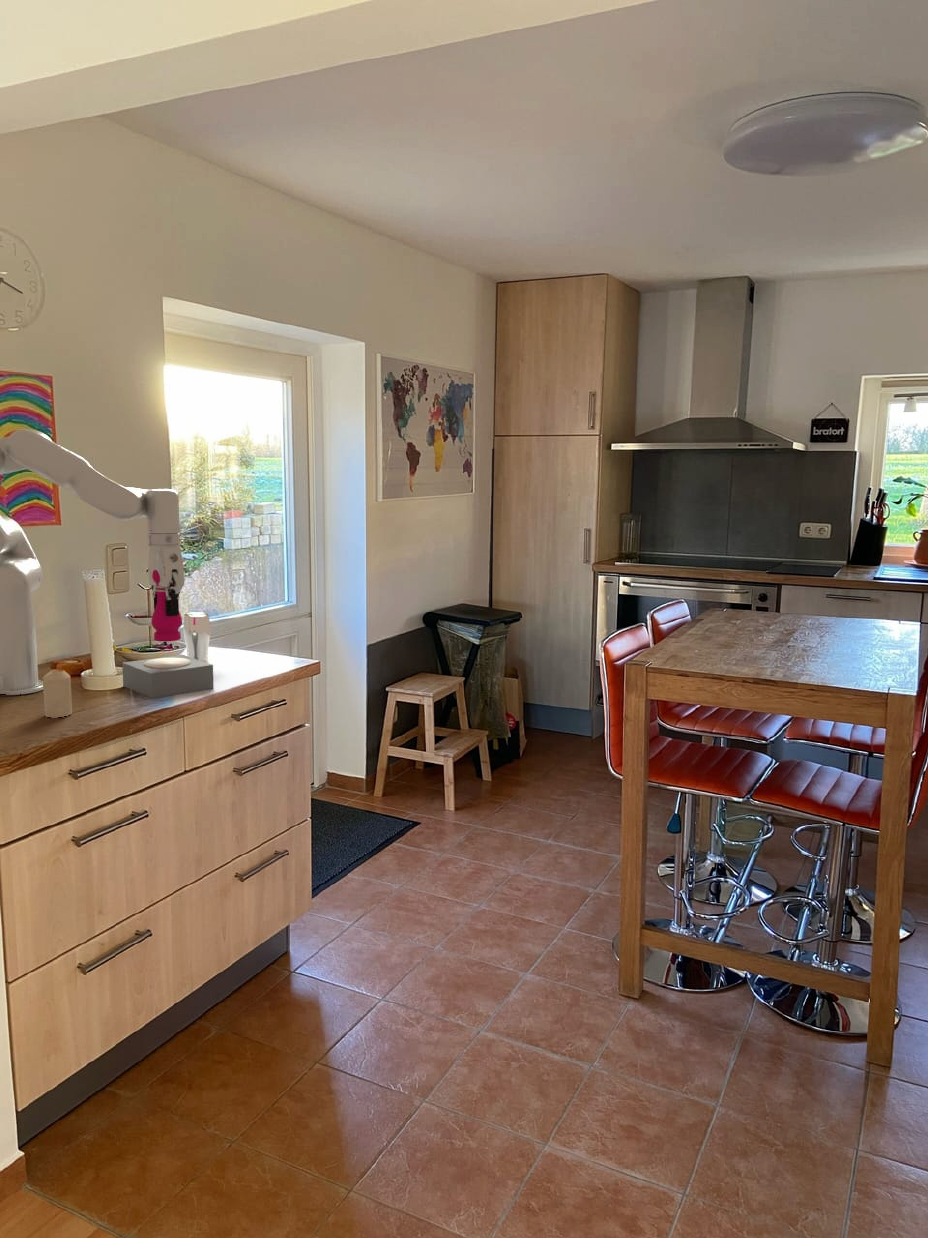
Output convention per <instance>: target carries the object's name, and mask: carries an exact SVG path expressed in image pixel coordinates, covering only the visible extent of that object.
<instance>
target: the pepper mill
mask: <svg viewBox="0 0 928 1238" xmlns="http://www.w3.org/2000/svg"><path fill="white" fill-rule="evenodd" d="M152 578H153V580H154V582H155V583H156V584H157V586H156V585H155V587H156V588H155V591H157V605H156V608H155V610H154V609H153V613H152V616H151V621H150V622H151V627H152V628H153V629H154V630H155V632H154V633H153V640H154V641H156V642H161V643H162V642H176V641H180V640H181V639H182V638H181V637H182V635H181V631H179V630H180V628H181V626H182V625H183V618H182V614H181V611H179V615H177V616H166V610H165V600H167V597H166V592H165V588H163V587H161V586H158V584H159V582H160V576H159V573H158V571H157V570H154V571H153V574H152ZM172 586H174V585H173V584H172V585H170V586H169V587H172ZM171 591H172V590H170V593H171Z"/></svg>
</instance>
